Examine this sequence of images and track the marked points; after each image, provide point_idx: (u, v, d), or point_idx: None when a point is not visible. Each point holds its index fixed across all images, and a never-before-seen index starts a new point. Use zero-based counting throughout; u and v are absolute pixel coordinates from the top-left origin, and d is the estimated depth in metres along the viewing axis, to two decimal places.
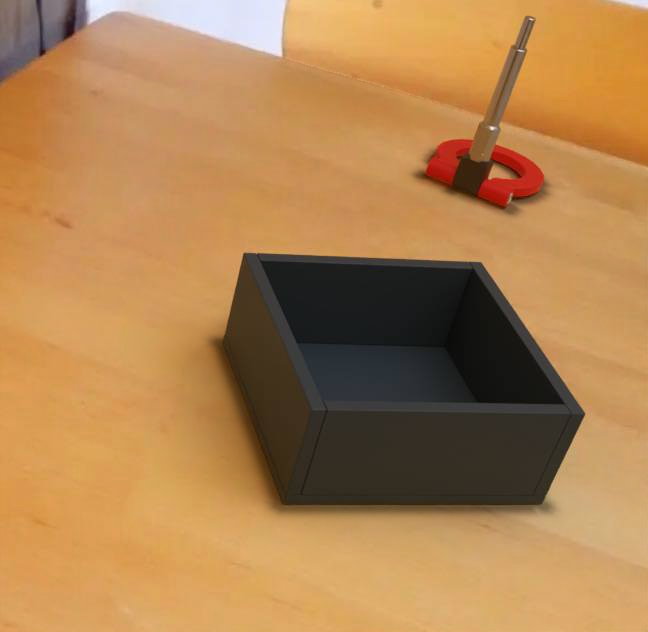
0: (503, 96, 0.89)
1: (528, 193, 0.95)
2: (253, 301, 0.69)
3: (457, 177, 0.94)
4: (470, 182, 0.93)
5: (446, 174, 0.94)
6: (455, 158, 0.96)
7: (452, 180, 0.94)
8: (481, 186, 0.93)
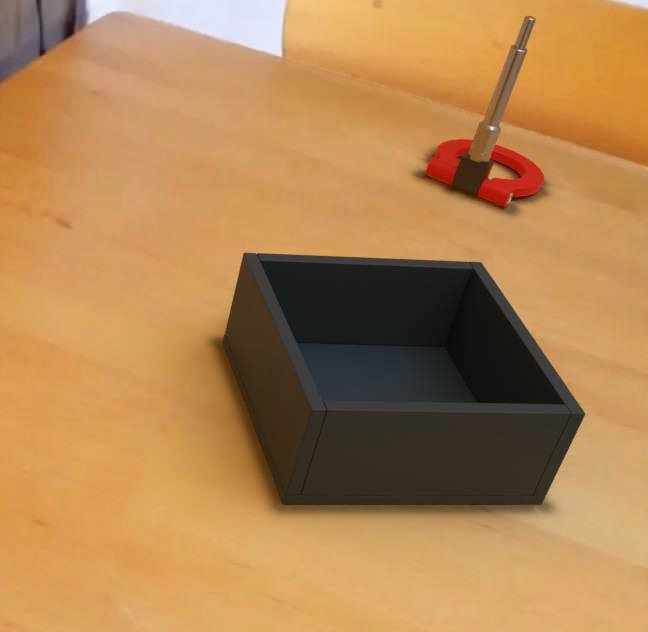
0: (503, 96, 0.89)
1: (528, 193, 0.95)
2: (253, 301, 0.69)
3: (457, 177, 0.94)
4: (470, 182, 0.93)
5: (446, 174, 0.94)
6: (455, 158, 0.96)
7: (452, 180, 0.94)
8: (481, 186, 0.93)
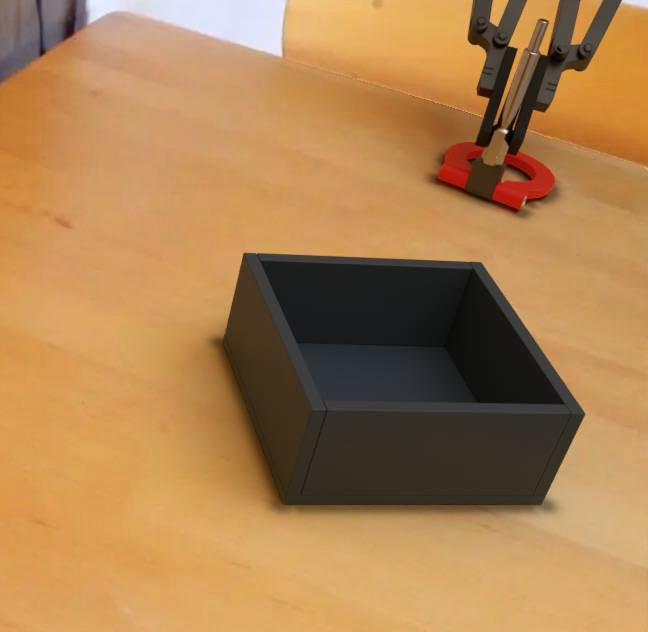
0: (517, 99, 0.89)
1: (541, 195, 0.95)
2: (253, 301, 0.69)
3: (470, 181, 0.93)
4: (484, 185, 0.93)
5: (459, 178, 0.94)
6: (466, 161, 0.96)
7: (465, 184, 0.94)
8: (495, 190, 0.93)
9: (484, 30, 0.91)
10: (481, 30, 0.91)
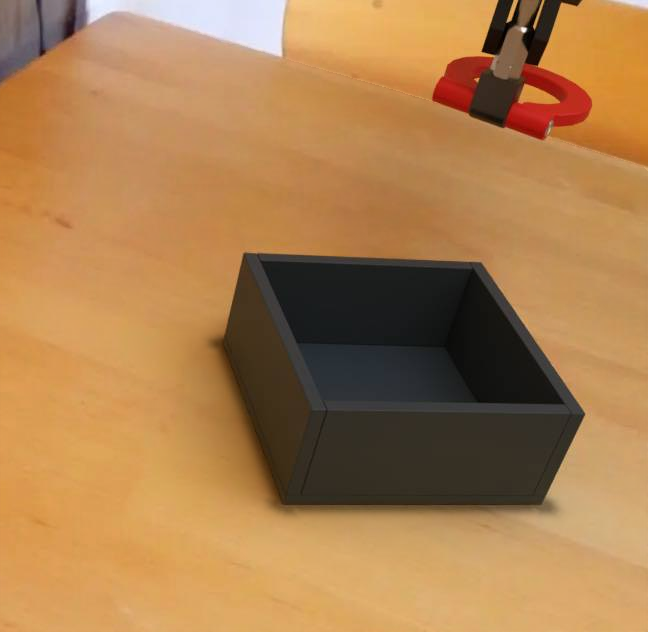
0: None
1: (573, 122, 0.70)
2: (253, 301, 0.69)
3: (476, 102, 0.69)
4: (494, 107, 0.68)
5: (461, 98, 0.69)
6: (471, 79, 0.71)
7: (469, 106, 0.69)
8: (509, 113, 0.68)
9: None
10: None
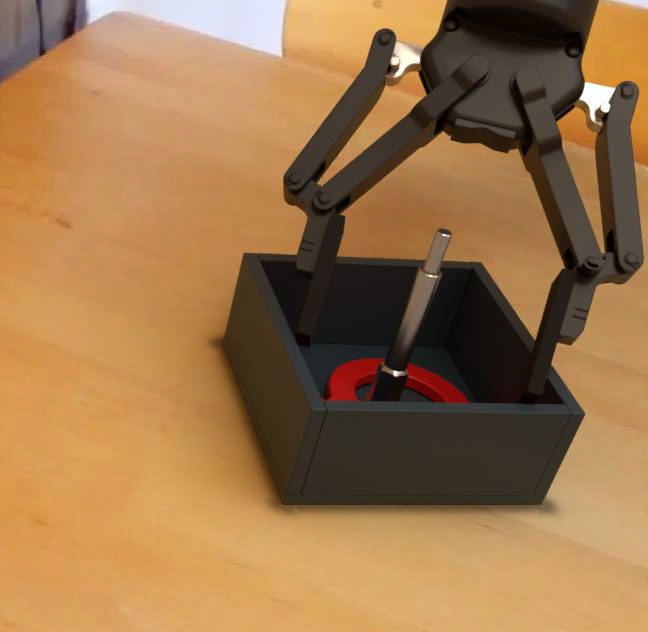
0: (410, 333, 0.63)
1: None
2: (253, 301, 0.69)
3: None
4: None
5: None
6: (353, 396, 0.70)
7: None
8: None
9: (294, 192, 0.66)
10: (290, 189, 0.66)
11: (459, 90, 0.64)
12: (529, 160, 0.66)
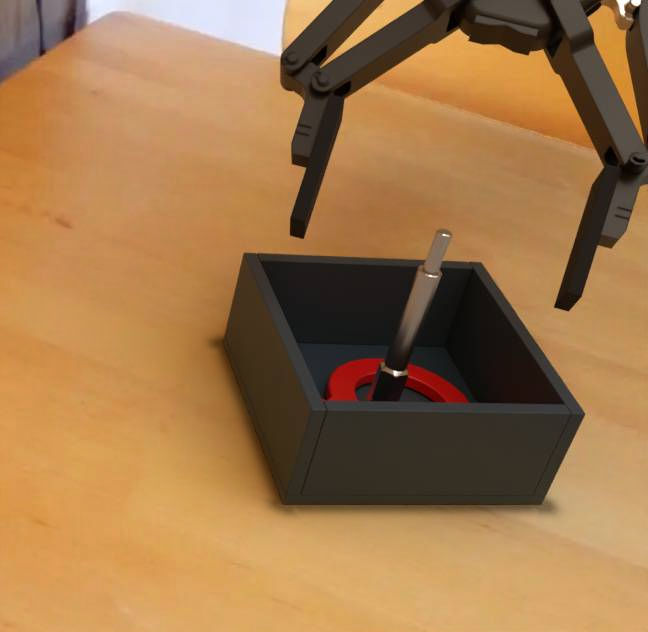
0: (410, 333, 0.63)
1: None
2: (253, 301, 0.69)
3: None
4: None
5: None
6: (353, 396, 0.70)
7: None
8: None
9: (290, 73, 0.63)
10: (286, 70, 0.63)
11: None
12: (558, 60, 0.63)
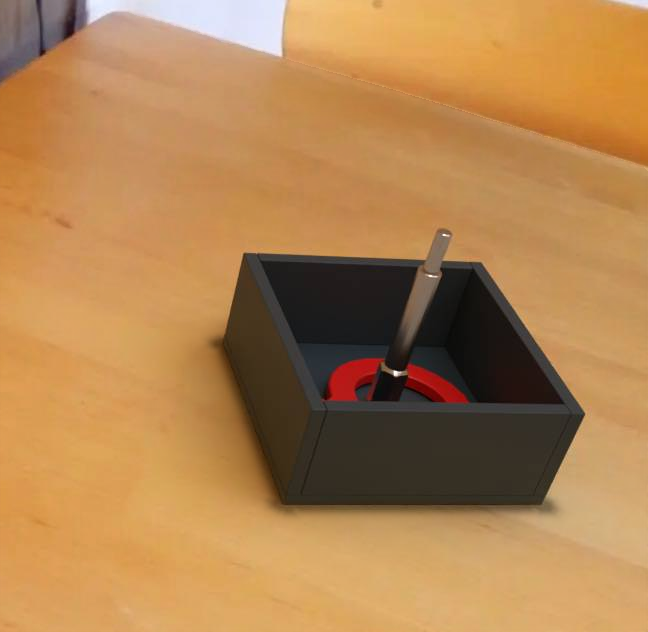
0: (410, 333, 0.63)
1: None
2: (253, 301, 0.69)
3: None
4: None
5: None
6: (353, 395, 0.70)
7: None
8: None
9: None
10: None
11: None
12: None
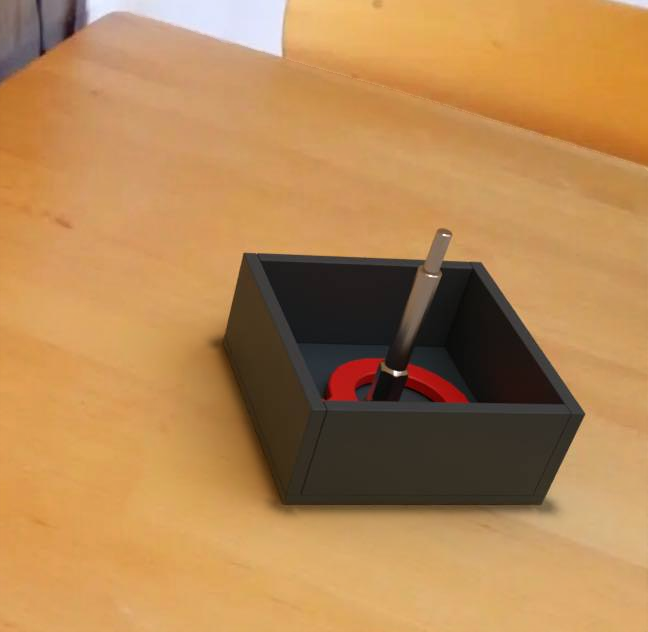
0: (410, 333, 0.63)
1: None
2: (253, 301, 0.69)
3: None
4: None
5: None
6: (353, 395, 0.70)
7: None
8: None
9: None
10: None
11: None
12: None
